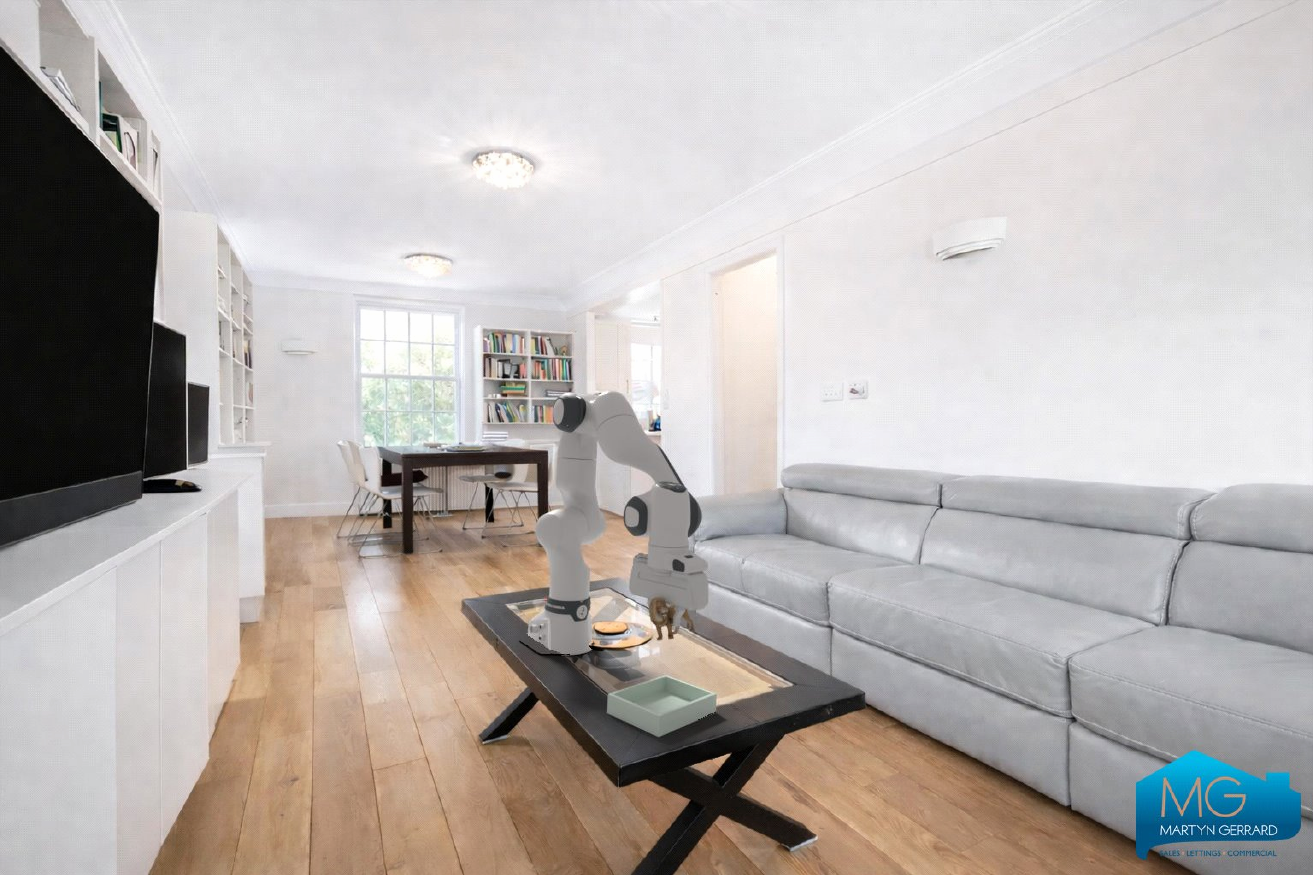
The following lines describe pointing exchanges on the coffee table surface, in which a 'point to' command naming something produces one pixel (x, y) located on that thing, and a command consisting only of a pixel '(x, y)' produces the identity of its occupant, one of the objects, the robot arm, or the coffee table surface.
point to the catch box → (661, 704)
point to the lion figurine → (665, 617)
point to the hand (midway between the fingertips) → (665, 623)
